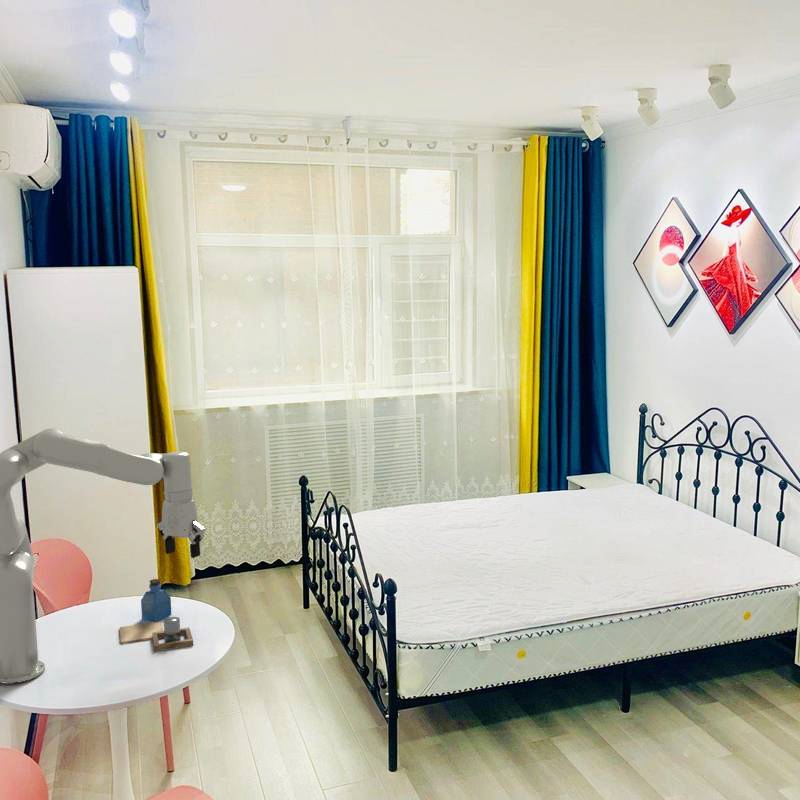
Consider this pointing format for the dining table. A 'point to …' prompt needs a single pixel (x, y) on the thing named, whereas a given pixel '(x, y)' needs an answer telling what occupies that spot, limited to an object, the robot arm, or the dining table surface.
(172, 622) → the peg
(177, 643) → the collar
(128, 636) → the mat
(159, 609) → the perfume bottle
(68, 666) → the dining table surface
